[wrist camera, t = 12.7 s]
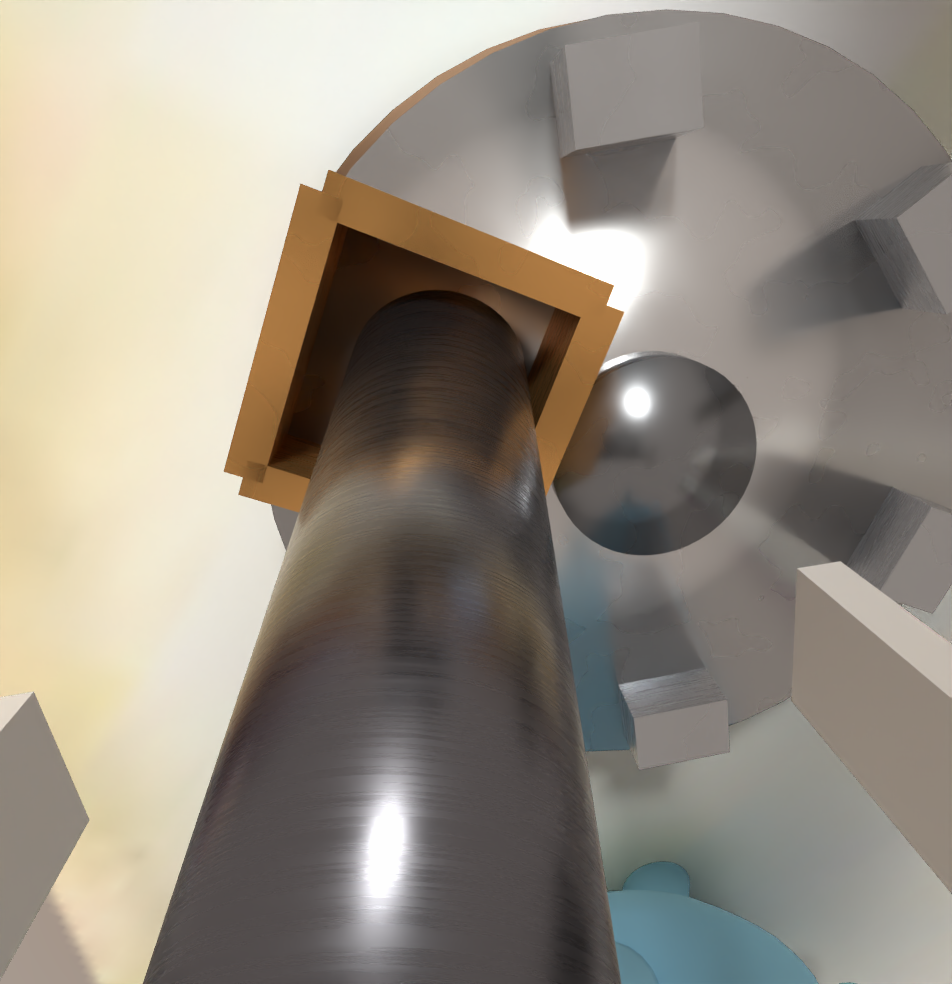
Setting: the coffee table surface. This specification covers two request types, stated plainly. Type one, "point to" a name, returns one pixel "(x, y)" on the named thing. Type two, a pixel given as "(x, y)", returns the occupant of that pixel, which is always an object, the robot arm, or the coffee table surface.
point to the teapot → (691, 937)
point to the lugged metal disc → (660, 338)
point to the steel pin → (406, 703)
